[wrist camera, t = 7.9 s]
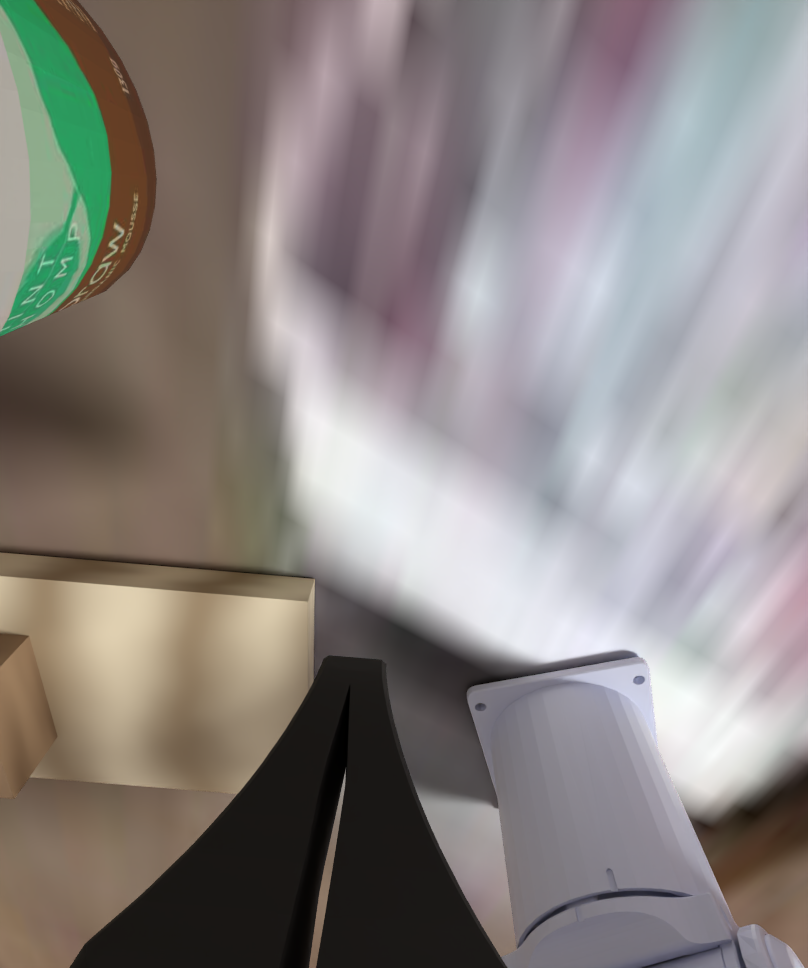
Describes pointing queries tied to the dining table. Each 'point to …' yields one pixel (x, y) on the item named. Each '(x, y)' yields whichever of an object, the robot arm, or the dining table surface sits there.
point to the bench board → (161, 667)
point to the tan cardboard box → (21, 714)
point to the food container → (66, 161)
